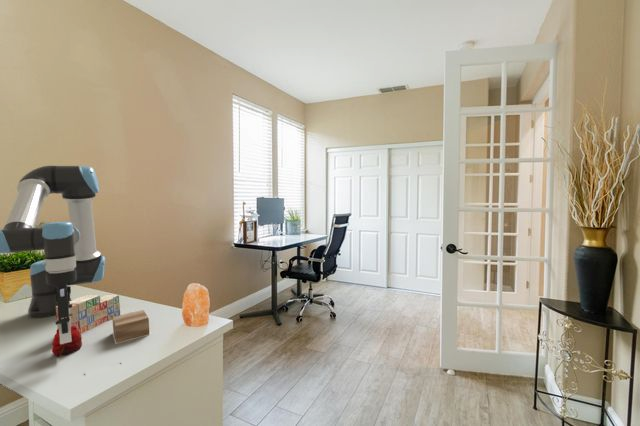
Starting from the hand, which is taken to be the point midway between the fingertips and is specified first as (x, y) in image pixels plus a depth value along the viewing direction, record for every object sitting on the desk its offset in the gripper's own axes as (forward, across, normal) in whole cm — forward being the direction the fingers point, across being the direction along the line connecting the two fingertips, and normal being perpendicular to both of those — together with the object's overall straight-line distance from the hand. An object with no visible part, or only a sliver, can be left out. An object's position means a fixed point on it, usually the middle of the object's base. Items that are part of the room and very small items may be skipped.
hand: (66, 335), depth 101 cm
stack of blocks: (+6, -20, +7) cm, 23 cm away
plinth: (+5, -1, +18) cm, 19 cm away
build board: (+6, -1, +16) cm, 18 cm away
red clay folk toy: (+6, 0, 0) cm, 6 cm away
